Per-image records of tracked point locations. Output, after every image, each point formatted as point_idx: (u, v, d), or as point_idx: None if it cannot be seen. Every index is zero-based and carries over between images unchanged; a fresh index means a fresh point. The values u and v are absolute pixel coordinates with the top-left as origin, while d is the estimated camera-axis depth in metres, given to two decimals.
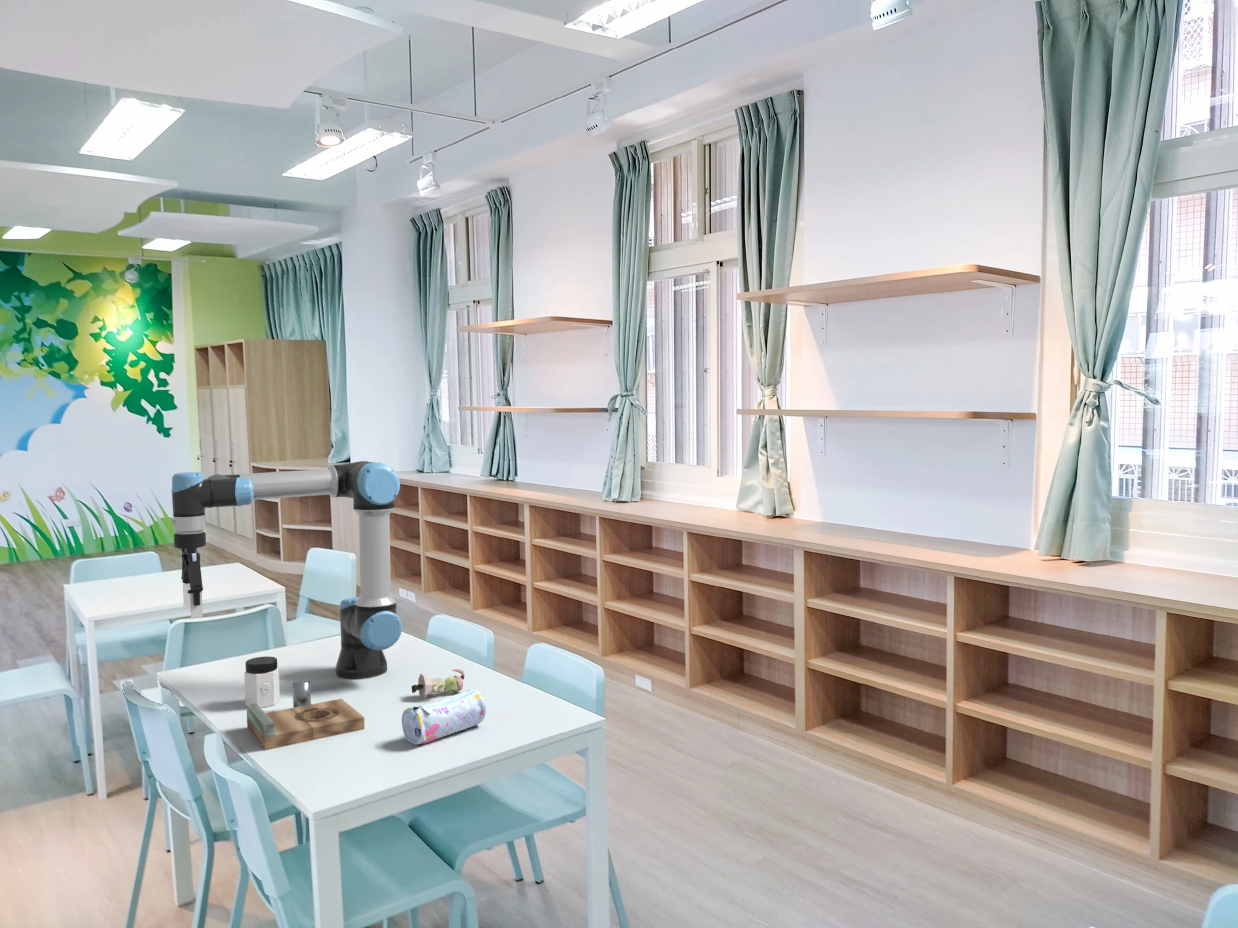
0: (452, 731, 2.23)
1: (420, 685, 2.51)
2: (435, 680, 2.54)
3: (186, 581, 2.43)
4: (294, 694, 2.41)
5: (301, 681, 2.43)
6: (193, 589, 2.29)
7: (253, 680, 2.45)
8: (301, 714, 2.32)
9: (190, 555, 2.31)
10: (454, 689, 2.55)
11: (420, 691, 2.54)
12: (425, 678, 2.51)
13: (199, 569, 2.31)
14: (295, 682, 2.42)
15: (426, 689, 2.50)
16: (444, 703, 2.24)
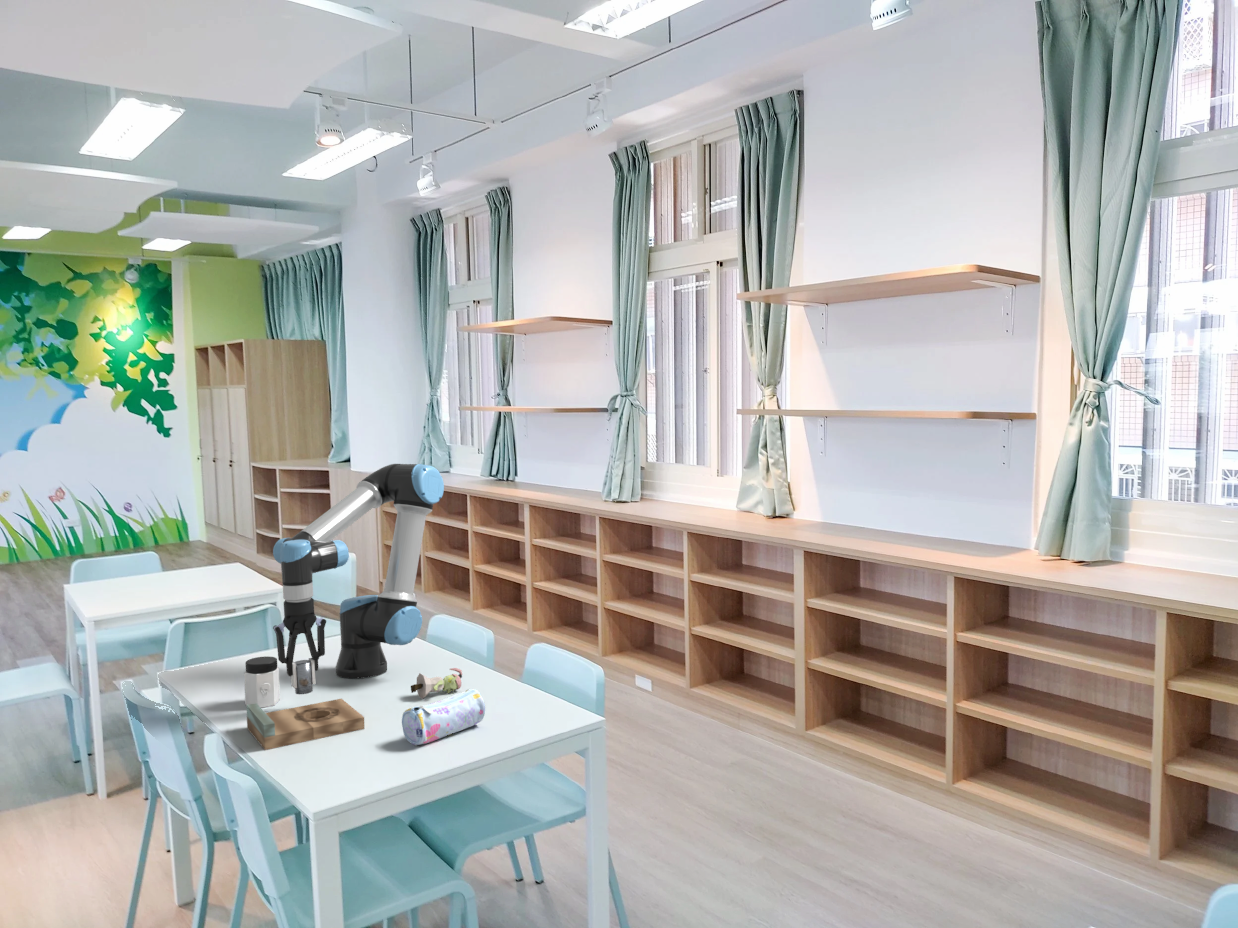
0: (452, 731, 2.23)
1: (420, 685, 2.51)
2: (434, 679, 2.54)
3: (312, 656, 2.45)
4: None
5: (302, 662, 2.43)
6: (279, 660, 2.40)
7: (253, 680, 2.45)
8: (301, 714, 2.32)
9: (273, 628, 2.39)
10: (453, 688, 2.56)
11: (419, 691, 2.54)
12: (425, 677, 2.52)
13: (278, 643, 2.38)
14: (296, 663, 2.42)
15: (426, 689, 2.51)
16: (444, 703, 2.24)
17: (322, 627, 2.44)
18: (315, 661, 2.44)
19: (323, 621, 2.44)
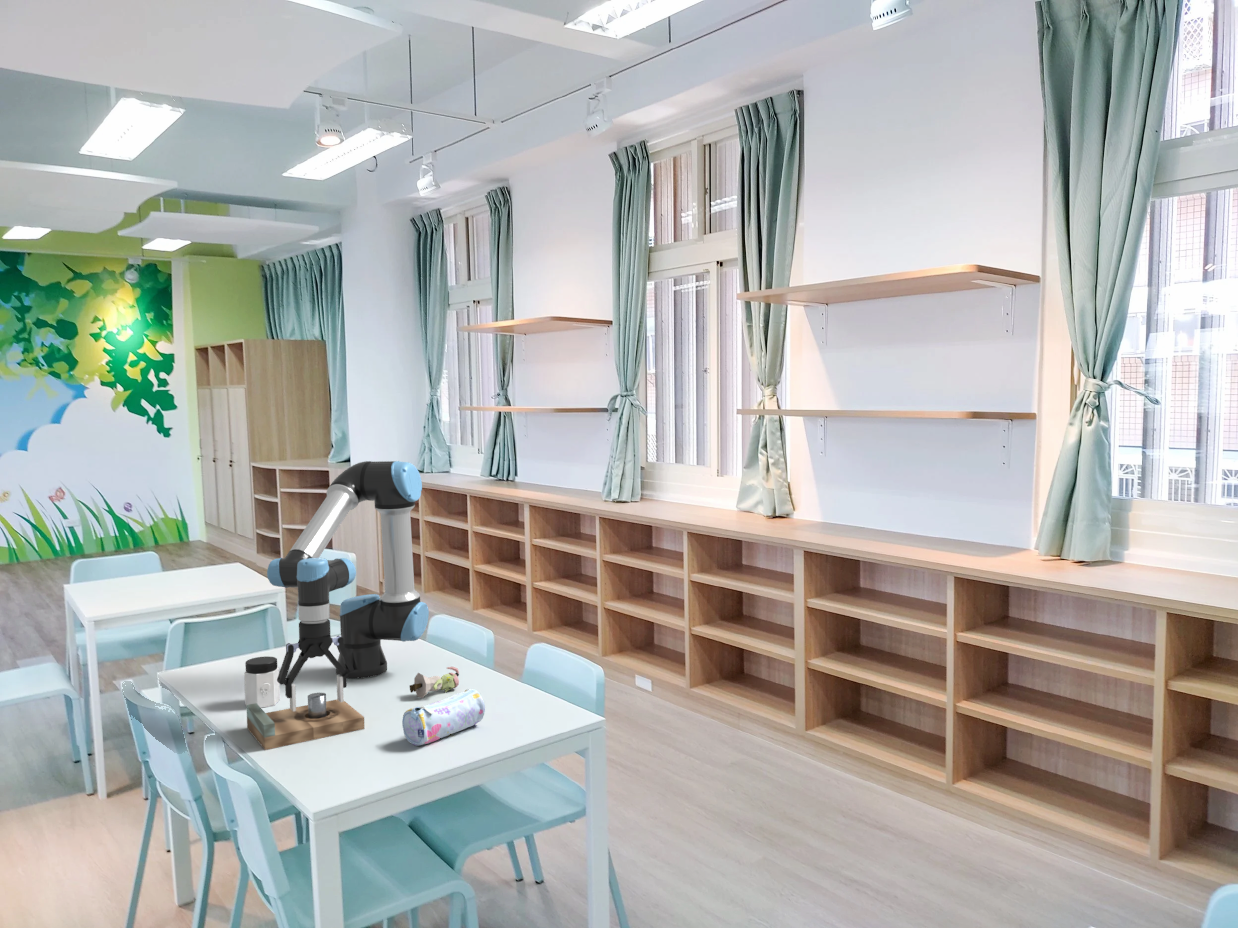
0: (453, 731, 2.23)
1: (419, 684, 2.52)
2: (433, 678, 2.55)
3: (340, 672, 2.35)
4: (309, 708, 2.29)
5: (316, 695, 2.31)
6: (277, 680, 2.26)
7: (253, 680, 2.45)
8: (301, 714, 2.32)
9: (286, 645, 2.27)
10: (451, 686, 2.58)
11: (418, 690, 2.55)
12: (424, 676, 2.53)
13: (285, 662, 2.25)
14: (310, 696, 2.30)
15: (426, 688, 2.51)
16: (444, 703, 2.24)
17: (341, 645, 2.33)
18: (344, 678, 2.34)
19: (340, 639, 2.33)
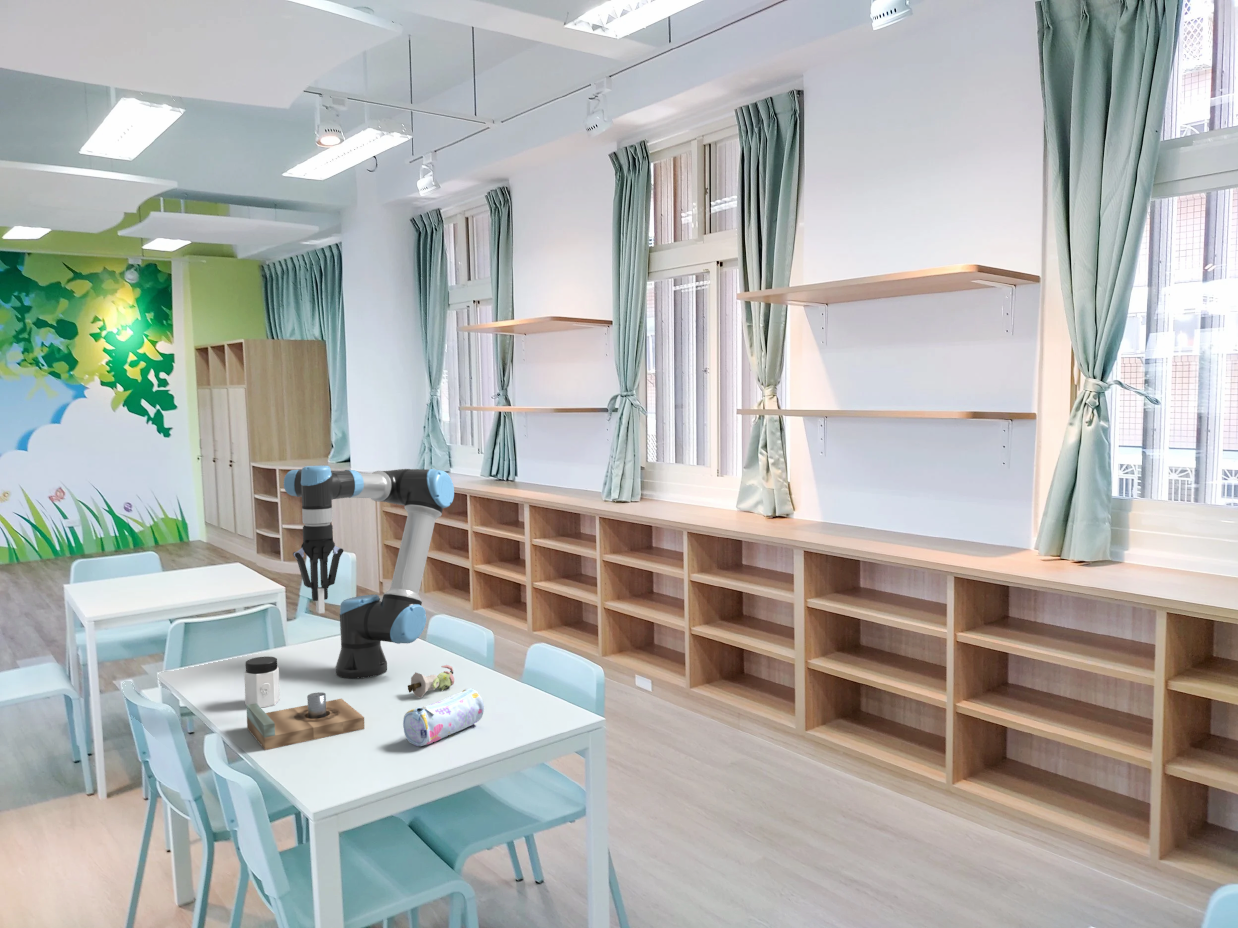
0: (453, 731, 2.23)
1: (418, 683, 2.53)
2: (430, 677, 2.56)
3: (321, 585, 2.43)
4: (309, 708, 2.30)
5: (316, 694, 2.31)
6: None
7: (253, 680, 2.45)
8: (301, 714, 2.32)
9: (293, 554, 2.39)
10: (447, 685, 2.59)
11: (415, 690, 2.55)
12: (423, 676, 2.53)
13: (301, 568, 2.38)
14: (310, 696, 2.30)
15: (425, 687, 2.52)
16: (444, 703, 2.24)
17: (338, 556, 2.43)
18: (325, 590, 2.42)
19: (340, 550, 2.44)
